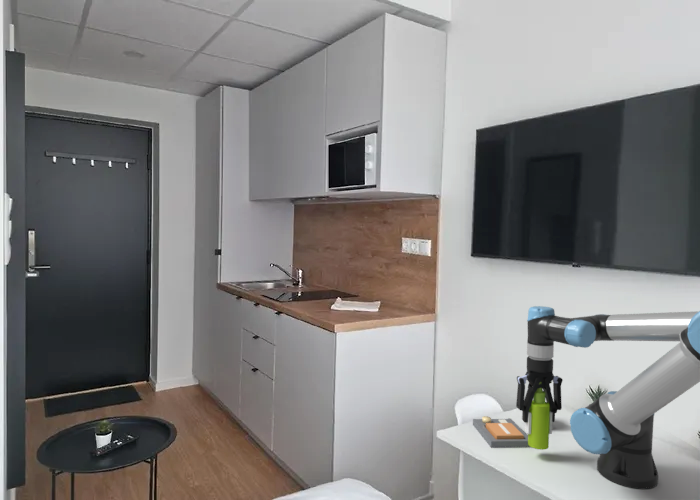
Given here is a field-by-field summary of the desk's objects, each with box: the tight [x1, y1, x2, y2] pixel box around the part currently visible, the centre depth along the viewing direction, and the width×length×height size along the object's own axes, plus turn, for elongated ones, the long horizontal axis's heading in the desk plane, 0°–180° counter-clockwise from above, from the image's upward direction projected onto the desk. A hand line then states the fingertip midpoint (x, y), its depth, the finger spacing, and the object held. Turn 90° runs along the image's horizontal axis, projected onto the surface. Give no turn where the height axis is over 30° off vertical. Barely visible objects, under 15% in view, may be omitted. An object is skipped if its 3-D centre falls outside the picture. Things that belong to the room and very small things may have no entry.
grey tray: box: [472, 416, 531, 449], centre depth 161 cm, size 18×14×4 cm
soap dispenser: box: [527, 381, 553, 450], centre depth 146 cm, size 6×7×20 cm
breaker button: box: [486, 423, 524, 439], centre depth 159 cm, size 10×9×3 cm
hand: (538, 432), depth 146 cm, fingers closed on soap dispenser, 6 cm apart
